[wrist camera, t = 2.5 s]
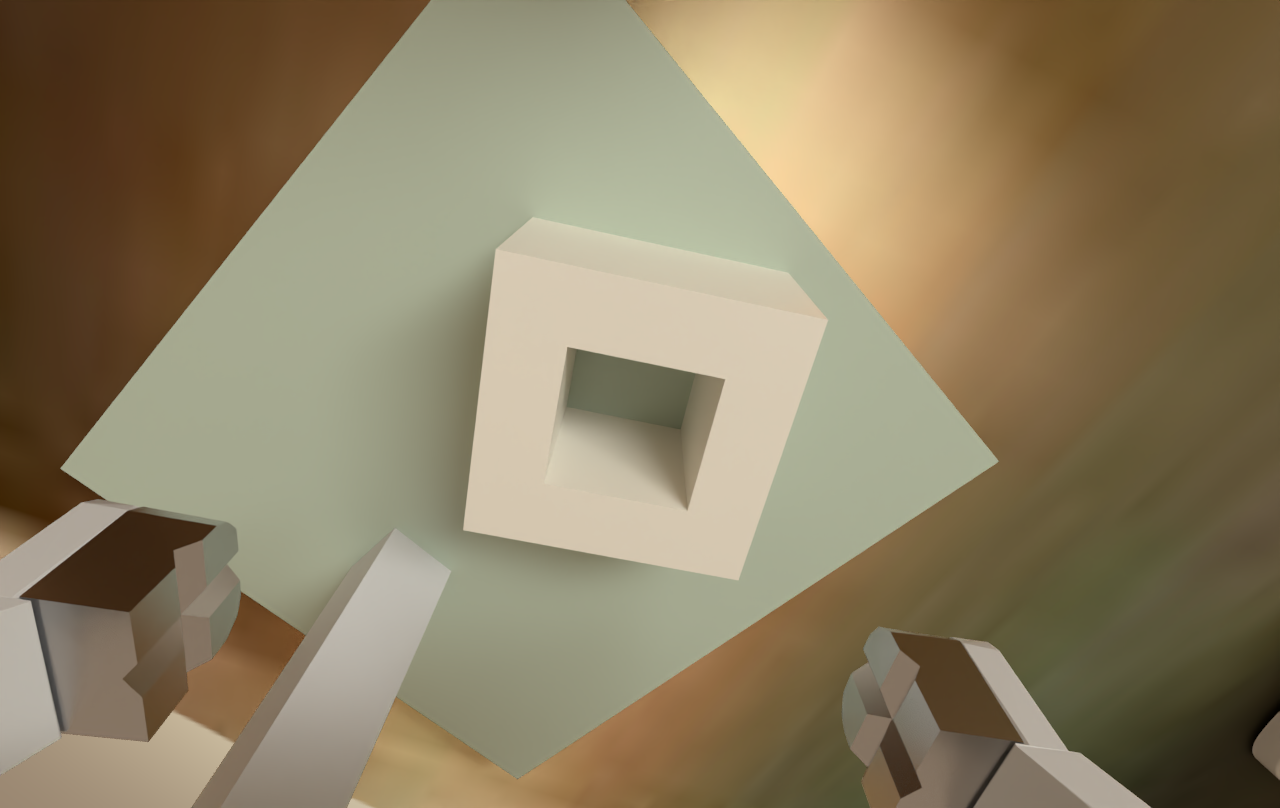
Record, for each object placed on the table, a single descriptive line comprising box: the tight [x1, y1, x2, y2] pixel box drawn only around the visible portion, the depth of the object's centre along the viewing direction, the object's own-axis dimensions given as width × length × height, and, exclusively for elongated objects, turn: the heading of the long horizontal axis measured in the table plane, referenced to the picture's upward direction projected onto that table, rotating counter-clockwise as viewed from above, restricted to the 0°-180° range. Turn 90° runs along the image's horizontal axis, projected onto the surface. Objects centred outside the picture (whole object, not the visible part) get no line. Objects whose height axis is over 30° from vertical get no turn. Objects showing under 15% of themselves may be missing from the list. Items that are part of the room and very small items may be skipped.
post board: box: [60, 0, 999, 808], centre depth 15 cm, size 18×20×10 cm
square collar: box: [463, 217, 828, 580], centre depth 15 cm, size 6×6×4 cm
